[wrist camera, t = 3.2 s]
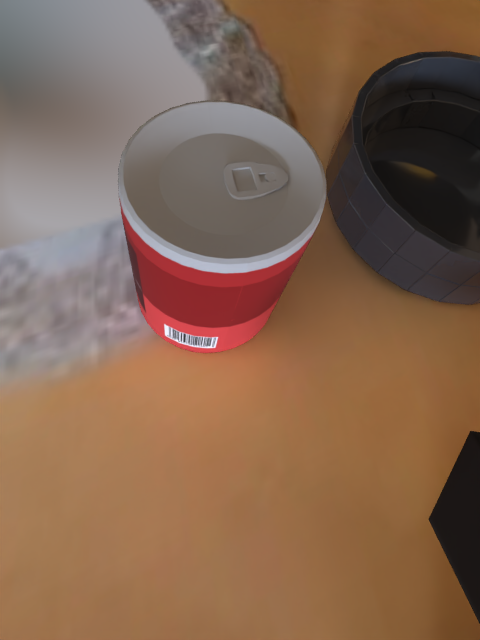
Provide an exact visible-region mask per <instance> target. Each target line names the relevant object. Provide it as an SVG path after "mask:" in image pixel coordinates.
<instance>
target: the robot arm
mask: <svg viewBox="0 0 480 640" xmlns="http://www.w3.org/2000/svg"><path fill="white" fill-rule="evenodd" d="M429 521H430V523H431V525H432V527H433V529H434V531H435V534H436V536H437V538H438V540H439V542H440V544H441V546H442V548H443V550H444V552H445V554H446V556H447V558H448V560H449V562H450V564H451V566H452V568H453V570H454V572H455V574H456V576H457V578H458V581H459V583H460V585H461V587H462V589H463V591H464V593H465V595H466V597H467V599H468V601H469V603H470V605H471V607H472V609H473V611H474V613H475V615H476V617H477V619H478V621H479V623H480V432H474V431H470V433H469V435H468V437H467V439H466V441H465V444H464V446H463V448H462V450H461V452H460V454H459V456H458V458H457V460H456V463H455V465H454V467H453V469H452V471H451V473H450V475H449V477H448V479H447V482H446V484H445V486H444V488H443V490H442V492H441V494H440V496H439V498H438V501H437V503H436V505H435V507H434V509H433V511H432V513H431V515H430V517H429Z"/></svg>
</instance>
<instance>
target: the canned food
mask: <svg viewBox="0 0 480 640" xmlns="http://www.w3.org/2000/svg"><path fill="white" fill-rule="evenodd" d="M118 175H119V176H118V177H119V178H118V189H119V200H120V205H121V214H122V219H123V225H124V230H125V235H126V240H127V245H128V250H129V255H130V260H131V266H132V271H133V276H134V281H135V286H136V291H137V296H138V301H139V305H140V308H141V312H142V314H143V316H144V317H145V319H146V321H147V323H148V324H149V325H150V326H151V328H152V329H153V330H154V331H155V332H156V333H157V334H158V335H159V336H161V337H162V338H163V339H165V340H166V341H167V342H169V343H171V344H173V345H175V346H177V347H179V348H182V349H185V350H189V351H192V352H201V353H212V352H221V351H225V350H228V349H232V348H235V347H237V346H239V345H241V344H243V343H245V342H247V341H248V340H250V339H251V338H252V337H254V336H255V335H256V334H257V333H258V332H259V331H260V330H261V329H262V327H263V326H264V325H265V324H266V322H267V320H268V318H269V316H270V314H271V313H272V311H273V309H274V307H275V305H276V303H277V301H278V300H279V298H280V296H281V294H282V292H283V290H284V288H285V287H286V285H287V283H288V281H289V279H290V277H291V275H292V273H293V272H294V270H295V268H296V266H297V264H298V262H299V260H300V259H301V257H302V255H303V253H304V251H305V249H306V247H307V246H308V244H309V242H310V240H311V238H312V236H313V233H314V231H315V229H316V227H317V226H318V224H319V222H320V218H321V214H322V212H323V208H324V204H325V201H326V178H325V174H324V169H323V166H322V164H321V162H320V160H319V157H318V155H317V153H316V152H315V150H314V149H313V148H312V146H311V145H310V144H309V142H308V141H307V140H306V138H305V137H304V136H302V135H301V134H300V133H299V132H298V131H297V130H296V129H295V128H294V127H293V126H291V125H290V124H288V123H287V122H285V121H284V120H282V119H281V118H279V117H277V116H275V115H273V114H271V113H269V112H267V111H264V110H262V109H259V108H256V107H253V106H249V105H246V104H242V103H235V102H229V101H200V102H192V103H186V104H183V105H180V106H176V107H173V108H170V109H168V110H166V111H164V112H162V113H160V114H158V115H156V116H154V117H153V118H151V119H150V120H149V121H147V122H146V123H145V124H143V125H142V126H141V127H140V128H139V129H138V130H137V131H136V132H135V133H134V135H133V136H132V137H131V138H130V139H129V141H128V143H127V145H126V147H125V149H124V151H123V153H122V156H121V160H120V164H119V169H118Z"/></svg>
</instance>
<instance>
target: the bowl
mask: <svg viewBox="0 0 480 640" xmlns="http://www.w3.org/2000/svg"><path fill="white" fill-rule="evenodd" d="M326 182H327V197H328V200H329V203H330V206H331V209H332V212H333V215H334V218H335V221H336V223H337V225H338V227H339V229H340V230H341V232H342V233H343V235H344V236H345V238H346V239H347V241H348V242H349V244H350V245H351V247H352V248H353V249H354V251H355V252H356V253H357V254H358V255H359V256H360V257H361V258H362V259H363V260H365V261H366V262H367V263H368V264H369V265H370V266H371V267H372V268H373V269H374V270H375V271H376V272H378V274H380V275H382V276H383V277H385V278H387V279H388V280H390V281H391V282H393V283H395V284H396V285H398V286H399V287H401V288H403V289H404V290H407V291H409V292H412V293H415V294H418V295H421V296H424V297H426V298H429V299H432V300H435V301H439V302H446V303H456V304H466V305H470V304H471V305H472V304H478V303H480V57H478V56H474V55H468V54H462V53H456V52H450V51H449V52H448V51H441V52H418V53H415V54H411V55H408V56H404V57H401V58H397V59H395V60H393V61H391V62H390V63H388V64H386V65H385V66H383V67H382V68H380V69H379V70H377V71H375V72H374V73H373V74H372V75H371V77H370V78H369V79H368V80H367V82H366V83H365V84H364V86H363V87H362V88H361V90H360V91H359V93H358V95H357V97H356V99H355V101H354V103H353V106H352V108H351V110H350V112H349V114H348V117H347V119H346V121H345V123H344V125H343V128H342V130H341V132H340V134H339V136H338V139H337V141H336V143H335V145H334V147H333V150H332V153H331V156H330V160H329V163H328V166H327V170H326Z"/></svg>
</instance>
